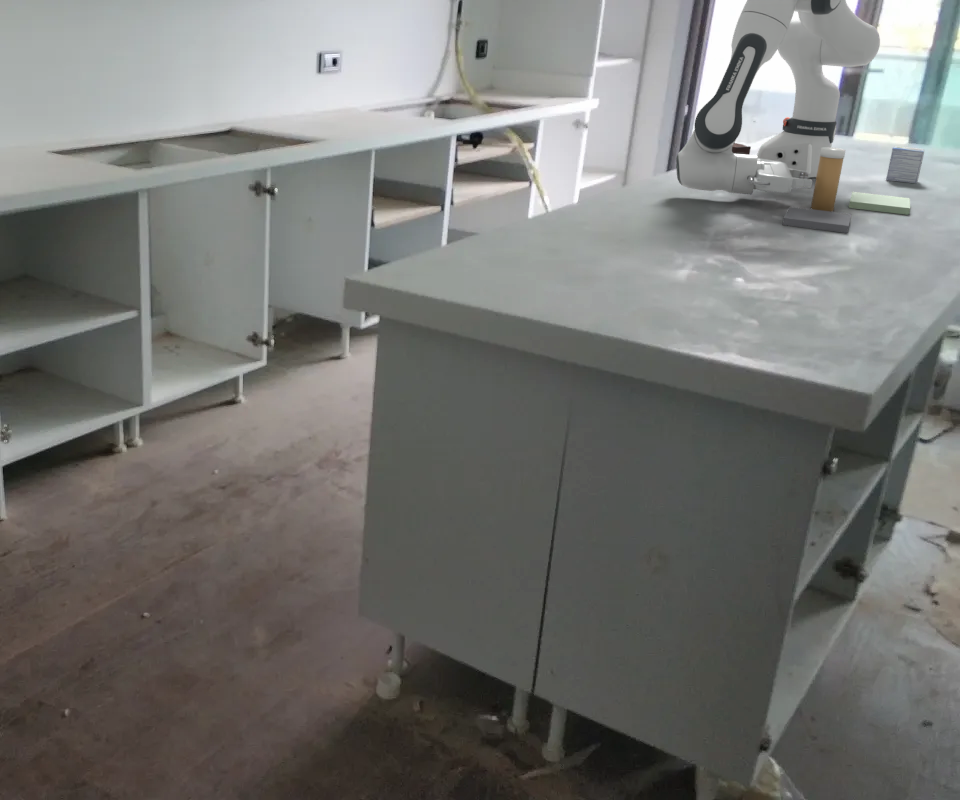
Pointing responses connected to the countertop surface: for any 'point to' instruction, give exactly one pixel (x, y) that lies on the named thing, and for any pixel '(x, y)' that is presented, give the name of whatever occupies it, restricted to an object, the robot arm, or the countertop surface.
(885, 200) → the tile
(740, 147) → the box
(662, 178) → the countertop surface
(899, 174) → the medicine box
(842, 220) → the tile
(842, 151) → the pill bottle
